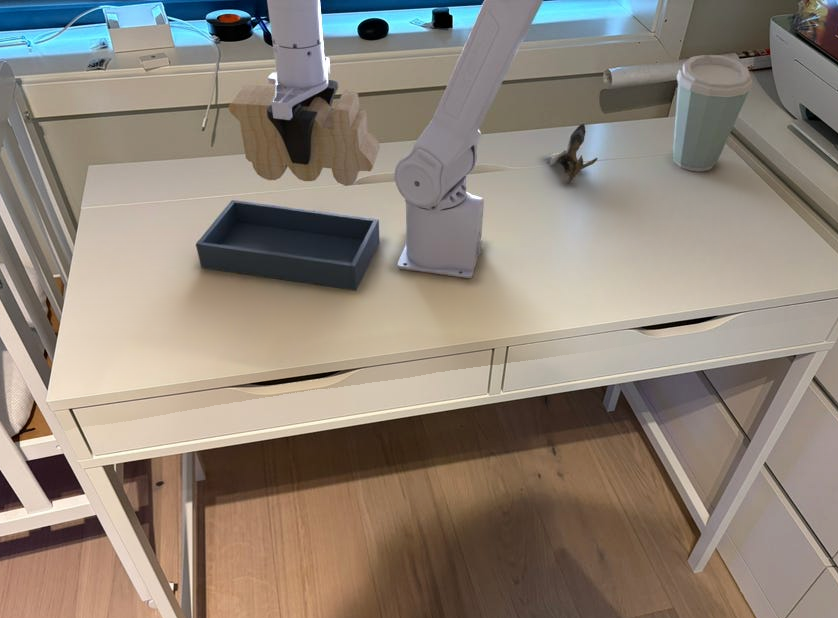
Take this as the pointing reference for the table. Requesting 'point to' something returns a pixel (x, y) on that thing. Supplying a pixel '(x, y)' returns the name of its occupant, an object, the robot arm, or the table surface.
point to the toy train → (330, 140)
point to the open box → (290, 244)
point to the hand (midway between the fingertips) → (309, 150)
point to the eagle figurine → (571, 155)
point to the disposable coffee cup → (707, 108)
